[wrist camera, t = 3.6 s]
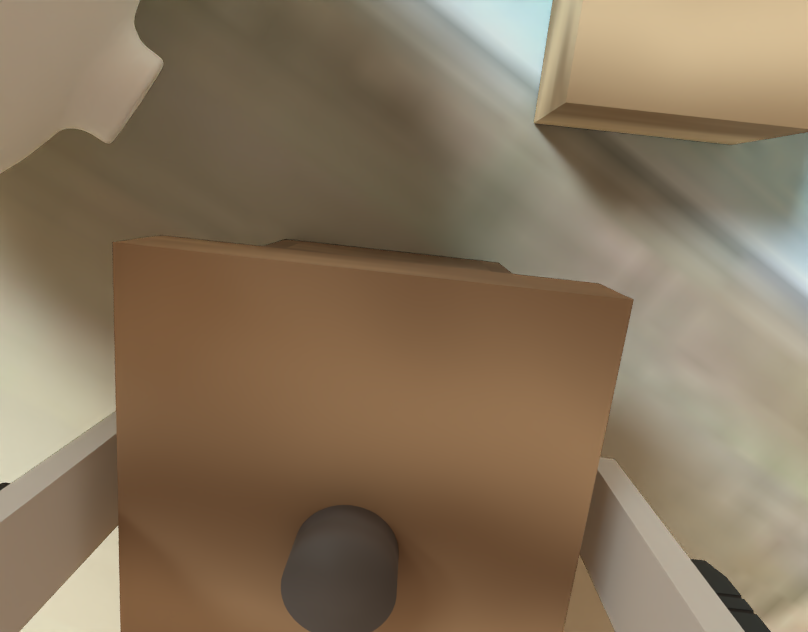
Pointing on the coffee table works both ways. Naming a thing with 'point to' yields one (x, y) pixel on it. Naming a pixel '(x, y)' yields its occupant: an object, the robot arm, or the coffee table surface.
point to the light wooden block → (677, 68)
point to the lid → (352, 439)
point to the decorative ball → (68, 71)
